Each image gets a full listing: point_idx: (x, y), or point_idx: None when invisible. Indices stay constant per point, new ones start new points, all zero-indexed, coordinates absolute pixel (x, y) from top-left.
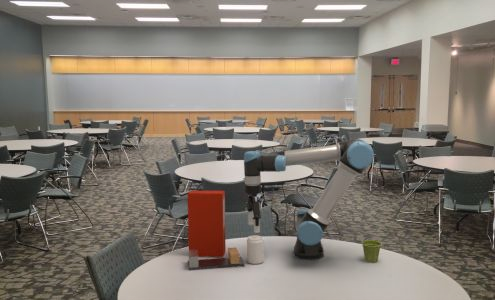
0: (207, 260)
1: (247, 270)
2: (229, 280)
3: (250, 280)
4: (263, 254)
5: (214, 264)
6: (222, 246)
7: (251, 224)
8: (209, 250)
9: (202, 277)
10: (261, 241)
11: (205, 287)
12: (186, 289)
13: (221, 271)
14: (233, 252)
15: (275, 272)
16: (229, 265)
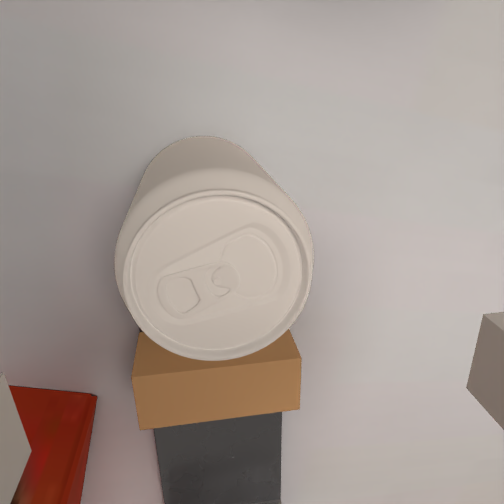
0: (186, 474)
1: (349, 265)
2: (452, 358)
3: (492, 262)
4: (240, 151)
5: (258, 439)
6: (79, 459)
7: (15, 414)
8: (76, 500)
9: (377, 462)
10: (295, 208)
11: (484, 443)
12: (474, 498)
13: (326, 394)
14: (256, 394)
15: (436, 88)
16: None
